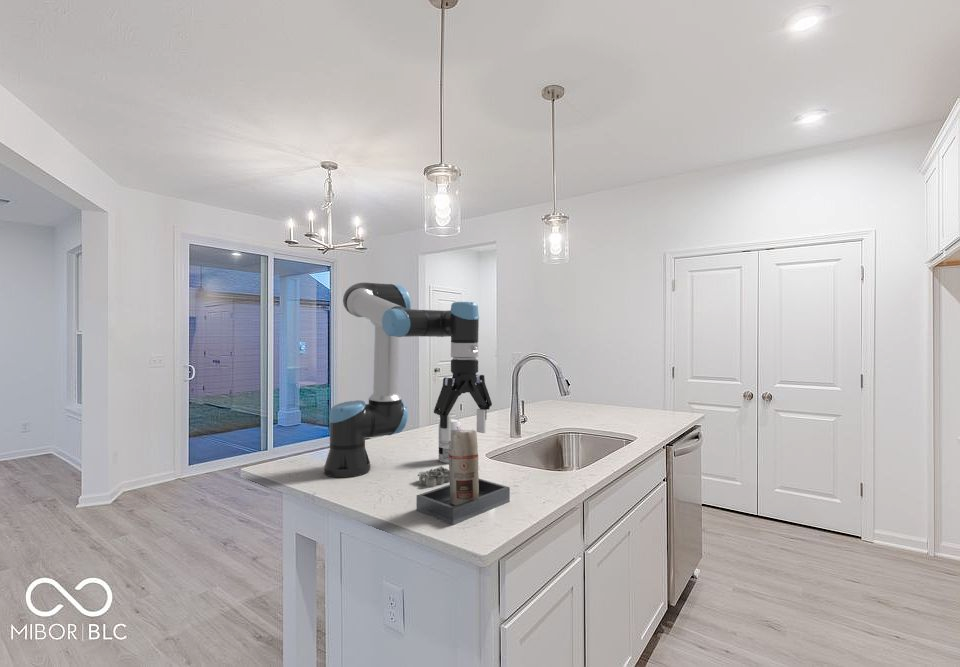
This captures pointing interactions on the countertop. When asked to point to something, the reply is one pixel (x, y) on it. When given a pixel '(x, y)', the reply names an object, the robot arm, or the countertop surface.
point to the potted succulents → (434, 477)
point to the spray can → (463, 466)
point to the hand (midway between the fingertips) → (464, 436)
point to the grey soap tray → (442, 509)
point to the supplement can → (445, 444)
